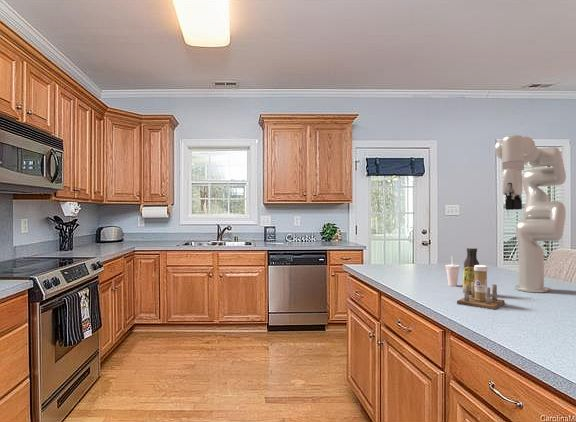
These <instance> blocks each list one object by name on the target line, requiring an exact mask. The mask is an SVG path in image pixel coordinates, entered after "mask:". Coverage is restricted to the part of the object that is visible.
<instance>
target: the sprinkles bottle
mask: <svg viewBox="0 0 576 422" xmlns="http://www.w3.org/2000/svg"><path fill="white" fill-rule="evenodd" d="M474 270H475V284H474V286H475V298H474V299H475V300H477V301H486V295H485V287H488V273H487V272H488V266H487V265H484V264H483V265H481V264H479V265H475V266H474Z"/></svg>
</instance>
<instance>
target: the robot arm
mask: <svg viewBox="0 0 576 422" xmlns="http://www.w3.org/2000/svg"><path fill="white" fill-rule="evenodd" d="M494 153H495V155H496V156H497V158H498V159H500V160H501V162H502V163H501V165H502V166H501V167H502V172H503V176H502V194H503V195H504V196H505V210H506V211H508V210H509V211H510V210H511V211H515V210H523V219H521V220H519V221H517V222H516V224H515V233H516V238H517V239H516V240H517V247H518V284H516V285H515V286H514V289H515V290H517V291H522V292H527V293H547V292H549V290H550V289H549V288H548V287H546V286H545V262H544V261H545V260H544V259H545V258H544V257H545V256H544V255H545V254H544V249H543V247H542V245H540V243H538V242H558V241H560V240H561V239H562V238H563V235H564V229H565V224H566V223H565V221H566V215H567V213H566V212H567V210H566V206H565V204H564V203H563V202H561V201H556V200H555V201H554V200H553V201H552V200H550V201H549V195H548V194H547V193H546V192H545V191H544V190H543V189H541V188H539V187H553V186H560V185H563V184H564V183H565V182H566V179H567V176H566V169H565V164H564V159H563V155H562V153H561V151H560V150H559V148H558V147H555V146H550V147H541V148H539V147H537V146H536V142H535V141H534V140H533V138H531V137H529V136H522V135H518V134H512V135H508V136H504V137H503V138H502V139H501V140H498V141H497V142H496V143H495V145H494ZM525 166H527V167H530V169H527V170H525ZM533 168H534V169H533ZM524 170H525V171H524ZM523 171H524V172H523ZM523 190H524V192H525V193H524V194H525V196H526V199H525V203H524V207H523V200H522V199H523V198H522V194H523ZM523 208H524V209H523Z"/></svg>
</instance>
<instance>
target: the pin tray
mask: <svg viewBox="0 0 576 422" xmlns="http://www.w3.org/2000/svg"><path fill="white" fill-rule="evenodd" d="M474 284H475V282H471V289H472V295H470V294H469V285H464V293H463V294H464V296H463V298H460V299H458V300H457V301H456V305H462V306H467V307H474V308H479V307H480V308H481V309H486V308H487V310H492V311H493V310H496V309H497V308H499V307H501V306H503V305H504V304H505V303H506V302H505V299H498V291H497V288H498V286H497V284H491V287H488V286H487V287H485V295H486V301H477V300H475V299H474V298H475V286H474ZM480 308H479V309H480Z"/></svg>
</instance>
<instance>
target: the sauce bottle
mask: <svg viewBox="0 0 576 422" xmlns="http://www.w3.org/2000/svg"><path fill="white" fill-rule="evenodd" d="M477 253H478V248H477V247H466V259H465V260H464V261H463V272H462V273H463V274H462V277H463V278H462V292H463V294H464V285H469V295H470V296H472V289H471V282H475V270H474V266H475V265H480V262H479V260H478V258H477Z"/></svg>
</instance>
